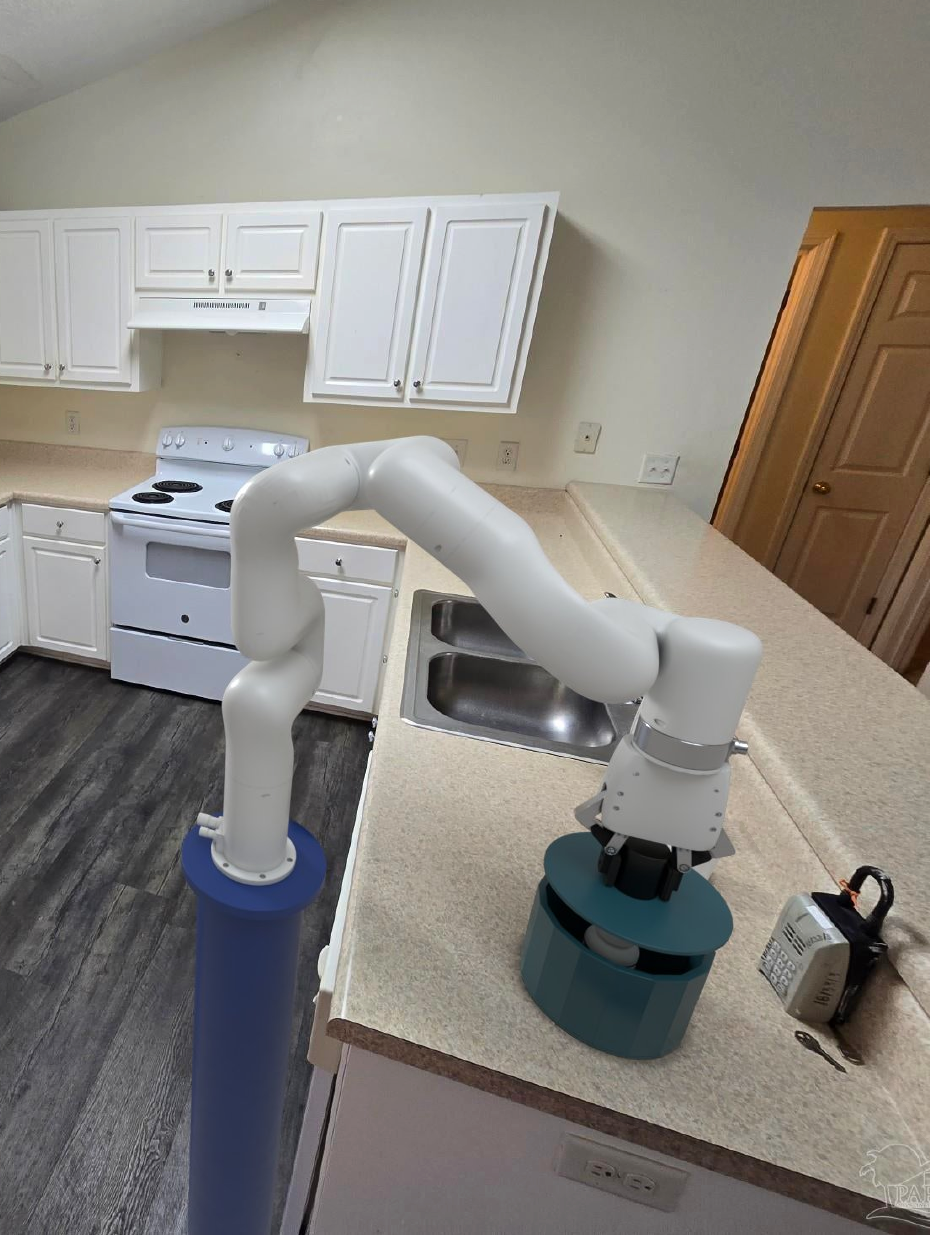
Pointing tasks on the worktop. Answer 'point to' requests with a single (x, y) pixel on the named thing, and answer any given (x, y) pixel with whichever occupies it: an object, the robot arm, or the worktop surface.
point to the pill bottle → (611, 947)
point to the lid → (638, 896)
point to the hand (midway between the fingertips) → (634, 883)
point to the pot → (607, 985)
